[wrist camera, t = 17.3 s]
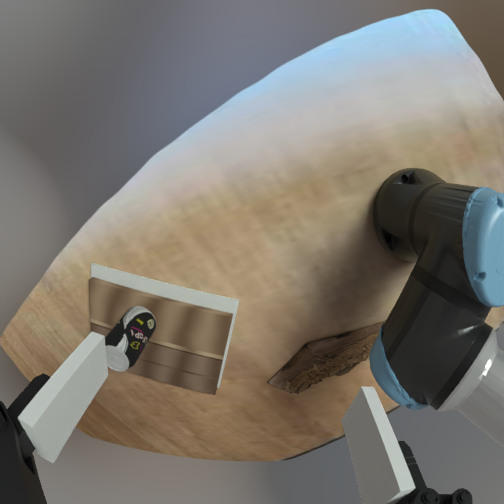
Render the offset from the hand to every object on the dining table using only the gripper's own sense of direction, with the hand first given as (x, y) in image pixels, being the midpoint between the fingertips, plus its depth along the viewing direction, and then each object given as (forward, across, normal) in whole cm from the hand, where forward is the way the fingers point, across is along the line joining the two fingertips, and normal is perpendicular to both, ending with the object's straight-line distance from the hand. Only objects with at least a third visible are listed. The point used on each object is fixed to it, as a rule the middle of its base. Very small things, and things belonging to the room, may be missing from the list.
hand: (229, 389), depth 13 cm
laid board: (+32, -13, -26) cm, 43 cm away
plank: (+31, -13, -17) cm, 38 cm away
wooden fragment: (+32, +19, -18) cm, 42 cm away
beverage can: (+30, -15, -17) cm, 38 cm away
